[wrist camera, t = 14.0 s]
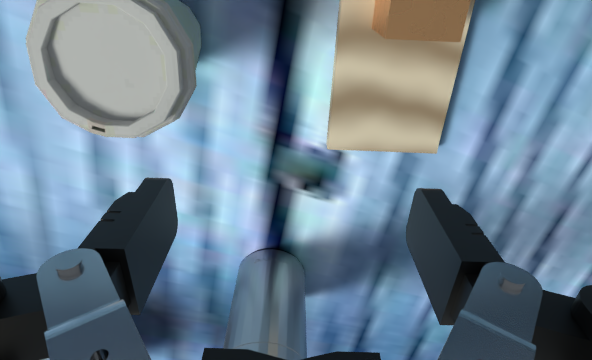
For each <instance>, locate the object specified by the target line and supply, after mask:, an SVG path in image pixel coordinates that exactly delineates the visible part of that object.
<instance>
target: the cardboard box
mask: <svg viewBox="0 0 592 360" xmlns="http://www.w3.org/2000/svg"><path fill="white" fill-rule="evenodd" d="M470 1H471V0H375V6H374V14H373V21H372V29H373V30H374V31H375V32H377V33H378V34H379V35H381V36H382V37H383V38H384V39H397V40H419V41H441V42H461V38H462V34H463V30H464V26H465V22H466V18H467V14H468V9H469V5H470Z"/></svg>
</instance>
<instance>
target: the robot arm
mask: <svg viewBox="0 0 592 360" xmlns="http://www.w3.org/2000/svg"><path fill="white" fill-rule="evenodd" d="M477 225H478V224H477V223H476V222H475V220H474V219H473V217H472V216H471V215H470V214H469V213H468V212H467V211H465V210H464V209H463V208H461V207H460V206H459V205H456V204H451V202H450V201H449V199H448V198H447V196H446V195H445V193H444V192H443V190H441V189H424V188H418V189H417V190H416V191H415V193H414V197H413V202H412V206H411V210H410V214H409V219H408V223H407V227H406V241H407V245H408V248H409V250H410V253H411V255H412V257H413V260H414V262H415V265H416V267H417V270H418V272H419V275H420V277H421V280H422V282H423V285H424V287H425V289H426V292H427V294H428V297H429V299H430V302H431V304H432V307H433V309H434V312H435V314H436V317H437V319H438V321H439V324H440V325H454V326H453V328H452V330H451V332H450V335H449V337H448V339H447V341H446V343H445V345H444V347H443V349H442V352H441V354H440V356H439V358H438V360H592V285H589V286H585V287H583V288H582V289H581V290H580V292H579V293H578V295H577V297H576V298H572V297H568V296H564V295H560V294H556V293H553V292H549V291H545V290H542V287H541V285H540V283H539V282H538V281H537V280H536V279H535V277H533V276H532V275H531V274H530V273H528V272H527V271H525V270H523V269H521V268H519V267H517V266H515V265H512V264H508V263H505V262H504V261H503V259H502V258H501V256H500V255H499V254H498V252H497V251H496V249H495V248H494V247H493V245H492V244H491V242H490V241H489V240H488V238H487V237H486V235H484V233H483V231H482V230H481V229H480V227H478V226H477ZM177 226H178V218H177V211H176V203H175V196H174V189H173V183H172V181H171V179H169V178H145V179H144V180H143V182H142V183H141V185H140V186H139V187H138V189H137V190H136V192H128V193H126V194H125V195H123V196H122V197H120V198H118V199H117V200H115V201H114V203H113V204H112V205H111V206H110V208H109V209H108V210H107V213H105V214H104V215H103V217H102V218H101V221H99V222H98V223H97V224H96V226H95V227H94V228H93V229H92V231H91V232H90V233H89V235H88V236H87V237H86V238H85V240H84V241H83V242H82V243H81V245H80V246H79V247H78V249H72V250H68V251H64V252H62V253H59V254H57V255H55V256H53V257H52V258H50V259H48V260H47V261H46V262H45V263H44V264H43V265H42V266H41V267H40V268H39V270H38V272H37V273H35V274H30V275H25V276H19V277H14V278H8V279H3V280H2V279H1V277H0V360H42V359H46V358H49V359H50V360H151V358H150V356H149V354H148V352H147V350H146V347H145V345H144V343H143V341H142V339H141V336H140V334H139V332H138V330H137V328H136V326H135V323H134V321H133V319H132V317H131V315H140V314H141V312H142V309H143V307H144V305H145V303H146V301H147V298H148V296H149V294H150V292H151V289H152V287H153V285H154V283H155V281H156V278H157V276H158V274H159V272H160V270H161V267H162V265H163V263H164V261H165V259H166V256H167V254H168V252H169V250H170V247H171V245H172V243H173V241H174V239H175V236H176V233H177ZM202 360H381V358H380V353H369V352H333V353H328V354H324V355H319V356H314V357H310V358H307V347H306V310H305V273H304V268H303V266H302V264H301V263H300V262H299V261H298V259H296V258H295V257H294V256H293V255H291V254H289V253H287V252H284V251H280V250H274V249H267V250H261V251H257V252H254V253H252V254H250V255H249V256H247V257H246V258H245V259H244V260H243V261H242V263H241V264H240V266H239V270H238V275H237V280H236V285H235V290H234V295H233V300H232V305H231V310H230V316H229V321H228V326H227V331H226V336H225V342H224V347H223V348H204V352H203V356H202Z"/></svg>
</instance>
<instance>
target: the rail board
mask: <svg viewBox="0 0 592 360" xmlns="http://www.w3.org/2000/svg"><path fill="white" fill-rule="evenodd" d="M474 3H475V0H471V1H470V5H469V9H468V14H467V18H466V22H465V26H464V30H463V34H462V38H461V42H441V41H419V40H397V39H384V38H383V37H382V36H381V35H379V34H378V33H377V32H375V31H374V30H373V29H372V21H373V14H374V6H375V0H340V1H339V12H338V23H337V34H336V45H335V56H334V67H333V78H332V89H331V100H330V111H329V122H328V133H327V149H335V150H360V151H386V152H412V153H437V149H438V145H439V141H440V137H441V133H442V129H443V126H444V122H445V118H446V114H447V110H448V106H449V102H450V98H451V94H452V90H453V86H454V82H455V78H456V74H457V70H458V66H459V62H460V58H461V54H462V50H463V47H464V43H465V39H466V35H467V31H468V27H469V23H470V19H471V15H472V11H473V7H474Z"/></svg>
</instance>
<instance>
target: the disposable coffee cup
mask: <svg viewBox="0 0 592 360" xmlns="http://www.w3.org/2000/svg"><path fill="white" fill-rule="evenodd" d="M26 41H27V42H26V46H27V51H28V55H29V59H30V64H31V68H32V72H33V77H34V81H35V85H36V86H37V87H38V88H39V90H40V91H41V92H42V93H43V95H44V96H45V97H46V99H47V100H48V101H49V102H50V104H51V105H52V106H53V107H54V109H55V110H56V111H57V112H58V114H59V115H60V116H61V117H62V118H63V119H65V120H67V121H69V122H71V123H73V124H75V125H77V126H79V127H81V128H83V129H85V130H87V131H89V132H91V133H94V134H97V135H101V136H105V137H122V138H136V137H145V136H147V135H149V134H151V133H153V132H155V131H157V130H158V129H160V128H162V127H164V126H166V125H168V124H170V123H172V122H174V121H175V120H177V119H179V118H180V116H181V114H182V113H183V111H184V109H185V107H186V105H187V103H188V101H189V99H190V98H191V96H192V94H193V92H194V90H195V88H196V75H195V70H196V66H197V62H198V58H199V53H200V49H201V31H200V24H199V23H198V21H197V19H196V18H195V16H194V14H193V13H192V11H191V9H190V7H188V6H187V5H185V4H184V3H182V2H181V1H179V0H37V1H36V5H35V8H34V12H33V15H32V19H31V22H30V26H29V29H28V33H27V36H26Z"/></svg>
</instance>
